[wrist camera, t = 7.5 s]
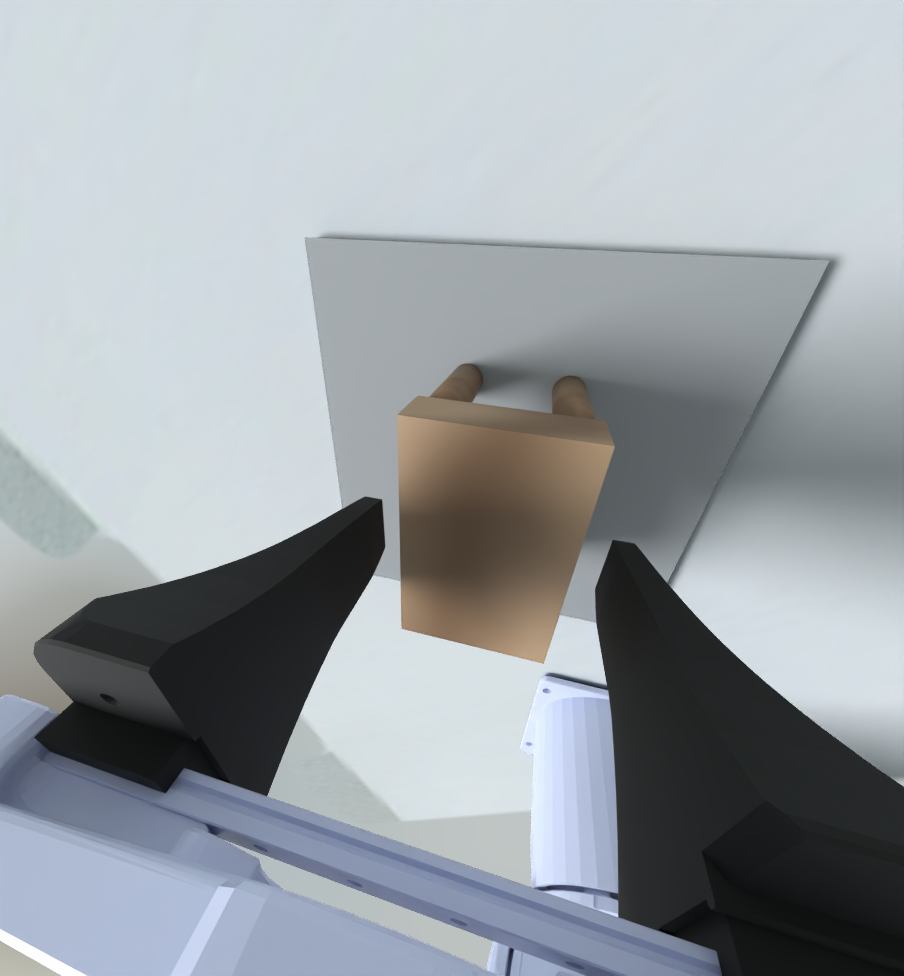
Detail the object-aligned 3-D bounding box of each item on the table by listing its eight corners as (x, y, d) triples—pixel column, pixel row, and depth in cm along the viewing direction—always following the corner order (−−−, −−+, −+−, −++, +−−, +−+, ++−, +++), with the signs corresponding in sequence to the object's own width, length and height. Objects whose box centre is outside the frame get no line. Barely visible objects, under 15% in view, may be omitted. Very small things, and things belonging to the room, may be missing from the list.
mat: (639, 622, 19) (642, 632, 18) (355, 563, 22) (350, 570, 21) (816, 260, 10) (830, 260, 10) (313, 238, 13) (304, 237, 13)
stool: (590, 377, 13) (614, 446, 8) (545, 548, 17) (543, 663, 12) (453, 361, 14) (397, 414, 9) (443, 528, 18) (401, 628, 13)
